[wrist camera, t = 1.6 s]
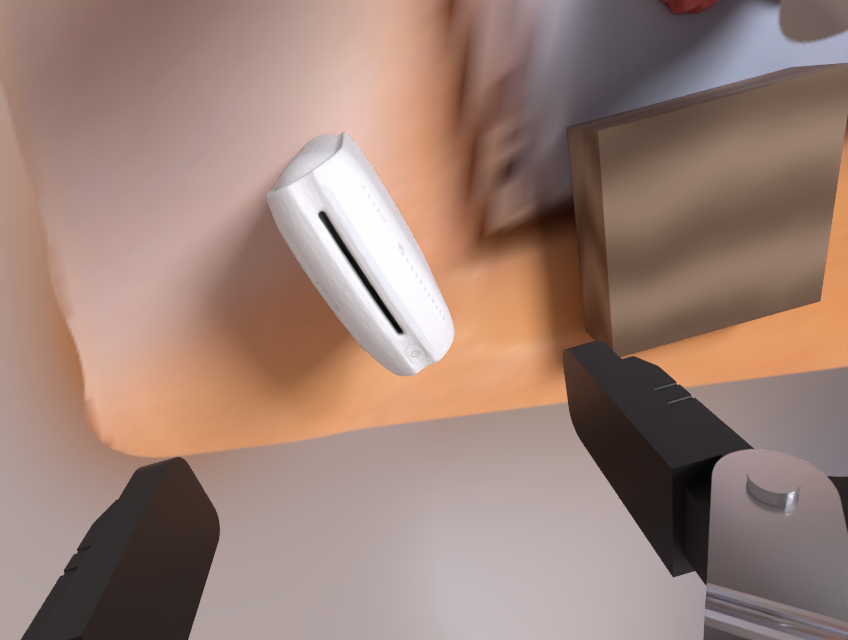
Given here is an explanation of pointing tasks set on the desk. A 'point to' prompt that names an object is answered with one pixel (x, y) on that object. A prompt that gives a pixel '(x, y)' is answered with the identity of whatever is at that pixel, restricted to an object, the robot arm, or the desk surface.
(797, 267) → the walnut block
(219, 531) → the robot arm
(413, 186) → the desk surface
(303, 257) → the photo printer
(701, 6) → the stacking bear
